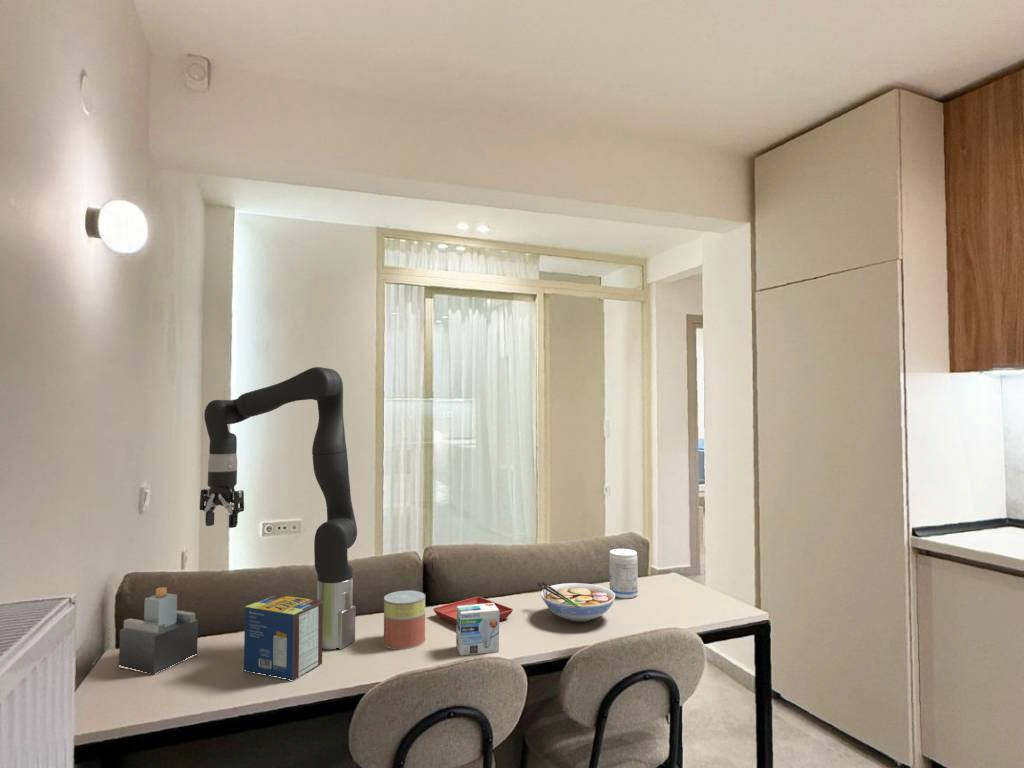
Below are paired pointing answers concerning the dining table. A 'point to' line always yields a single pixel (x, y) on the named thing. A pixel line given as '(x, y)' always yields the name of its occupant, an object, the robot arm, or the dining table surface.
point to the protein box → (283, 636)
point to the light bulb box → (477, 629)
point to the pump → (161, 607)
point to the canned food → (404, 619)
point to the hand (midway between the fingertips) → (221, 526)
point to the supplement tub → (623, 573)
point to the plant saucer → (450, 610)
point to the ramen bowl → (577, 600)
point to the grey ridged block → (157, 643)
